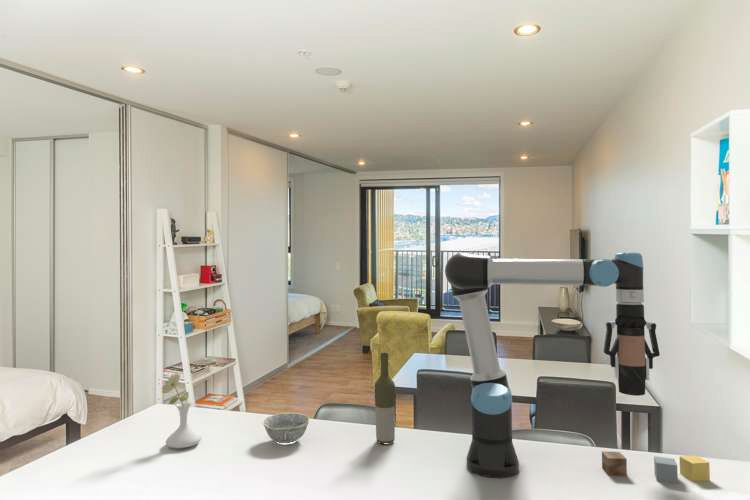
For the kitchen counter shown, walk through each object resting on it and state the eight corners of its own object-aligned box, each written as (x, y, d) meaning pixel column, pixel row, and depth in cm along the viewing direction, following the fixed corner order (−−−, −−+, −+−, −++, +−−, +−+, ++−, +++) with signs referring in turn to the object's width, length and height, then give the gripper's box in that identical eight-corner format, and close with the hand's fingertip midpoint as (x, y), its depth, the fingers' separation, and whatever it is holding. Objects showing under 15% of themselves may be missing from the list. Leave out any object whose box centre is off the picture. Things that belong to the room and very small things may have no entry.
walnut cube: (608, 475, 140) (608, 458, 140) (602, 468, 144) (601, 451, 145) (626, 476, 139) (626, 458, 139) (619, 469, 144) (619, 451, 144)
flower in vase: (188, 436, 175) (188, 366, 175) (208, 443, 168) (208, 370, 169) (154, 448, 164) (153, 373, 165) (173, 456, 157) (173, 377, 158)
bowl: (306, 450, 161) (305, 427, 161) (257, 451, 161) (257, 427, 161) (312, 433, 177) (312, 412, 177) (268, 433, 177) (268, 412, 177)
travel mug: (650, 396, 145) (648, 328, 145) (621, 395, 146) (620, 327, 147) (641, 389, 152) (639, 324, 152) (614, 388, 154) (613, 324, 154)
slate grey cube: (656, 481, 136) (656, 462, 136) (654, 473, 141) (654, 456, 141) (677, 484, 134) (677, 465, 134) (674, 476, 139) (674, 458, 139)
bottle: (377, 437, 172) (376, 351, 172) (397, 438, 170) (396, 352, 171) (373, 445, 165) (372, 355, 165) (394, 446, 163) (392, 355, 164)
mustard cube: (692, 481, 135) (692, 463, 135) (680, 474, 140) (679, 456, 140) (709, 480, 136) (709, 462, 136) (696, 473, 141) (696, 455, 141)
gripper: (595, 303, 149) (596, 379, 148) (671, 304, 143) (673, 383, 143) (591, 301, 156) (593, 374, 156) (664, 302, 151) (665, 377, 150)
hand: (631, 378), depth 149 cm, fingers closed on travel mug, 8 cm apart
